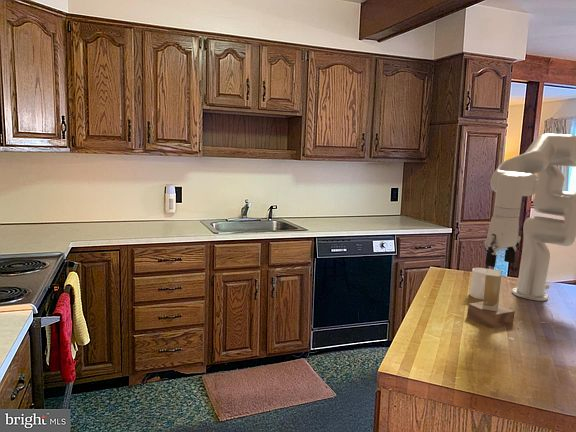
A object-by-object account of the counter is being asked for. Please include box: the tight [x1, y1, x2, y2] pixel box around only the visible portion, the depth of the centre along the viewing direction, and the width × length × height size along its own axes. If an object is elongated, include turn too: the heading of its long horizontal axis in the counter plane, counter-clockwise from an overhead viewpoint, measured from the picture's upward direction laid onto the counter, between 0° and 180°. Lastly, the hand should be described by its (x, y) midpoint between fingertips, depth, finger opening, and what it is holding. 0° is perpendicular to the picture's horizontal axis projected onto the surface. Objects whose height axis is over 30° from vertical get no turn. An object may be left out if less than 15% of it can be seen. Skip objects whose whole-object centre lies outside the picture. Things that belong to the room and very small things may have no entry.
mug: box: [469, 267, 489, 301], centre depth 168 cm, size 12×8×10 cm
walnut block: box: [466, 301, 516, 329], centre depth 147 cm, size 10×10×5 cm
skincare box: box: [482, 268, 503, 312], centre depth 144 cm, size 6×4×12 cm
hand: (499, 264), depth 144 cm, fingers open, 9 cm apart
